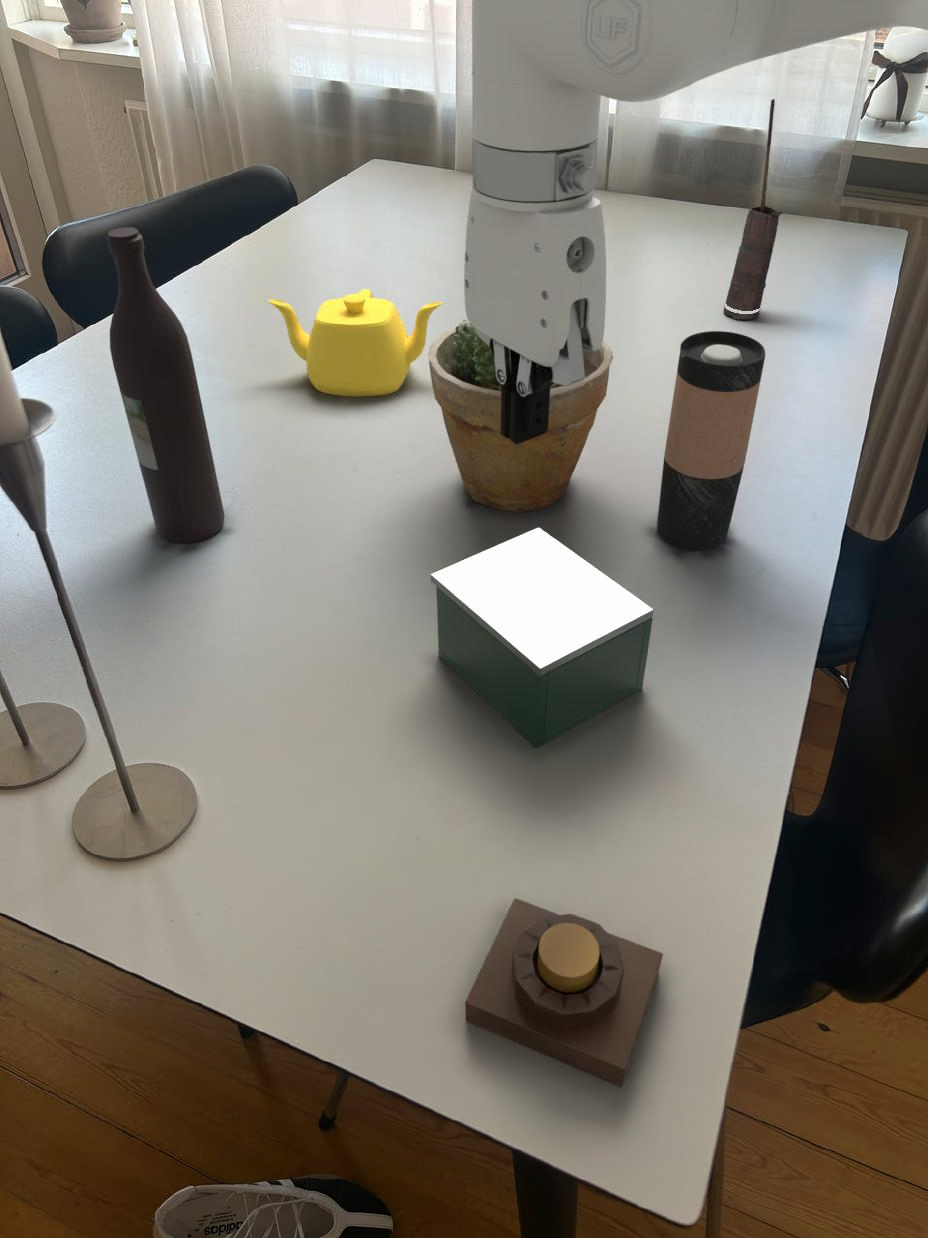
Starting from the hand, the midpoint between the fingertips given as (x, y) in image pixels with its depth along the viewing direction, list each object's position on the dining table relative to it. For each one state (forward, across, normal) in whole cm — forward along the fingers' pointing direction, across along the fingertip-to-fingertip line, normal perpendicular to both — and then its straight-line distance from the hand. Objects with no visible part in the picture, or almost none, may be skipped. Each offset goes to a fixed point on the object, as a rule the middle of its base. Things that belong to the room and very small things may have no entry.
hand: (524, 434), depth 71 cm
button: (+18, -27, +17) cm, 37 cm away
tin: (+22, -3, 0) cm, 22 cm away
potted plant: (+22, +22, -17) cm, 36 cm away
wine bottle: (+22, +36, +15) cm, 45 cm away
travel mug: (+22, +4, -26) cm, 35 cm away
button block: (+22, -27, +17) cm, 39 cm away
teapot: (+22, +56, -18) cm, 63 cm away
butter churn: (+22, +38, -73) cm, 85 cm away
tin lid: (+14, -2, 0) cm, 14 cm away
